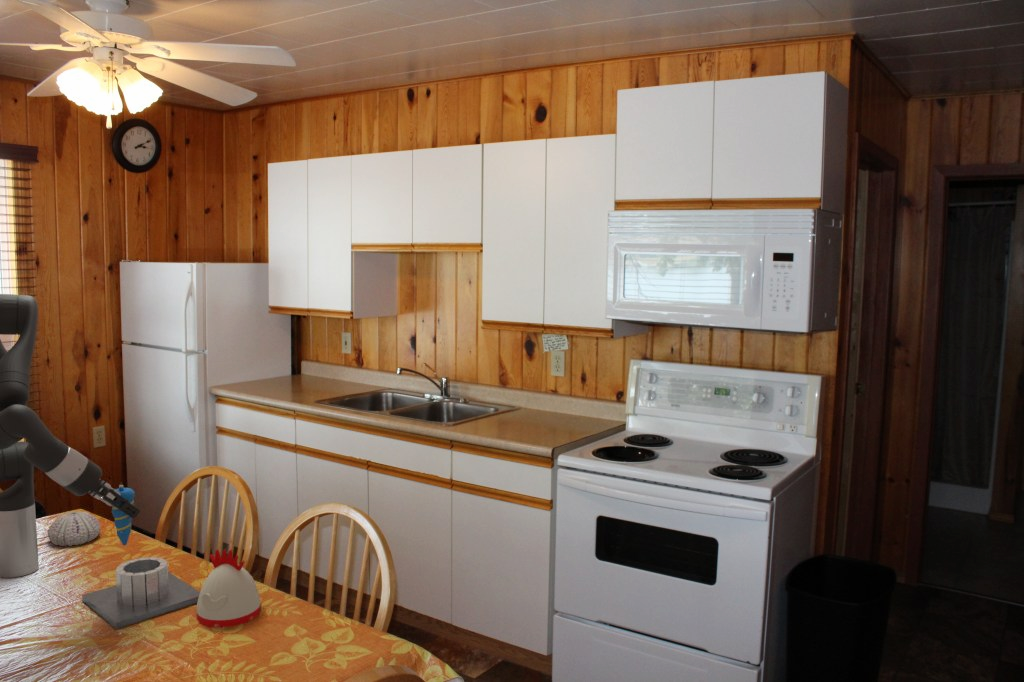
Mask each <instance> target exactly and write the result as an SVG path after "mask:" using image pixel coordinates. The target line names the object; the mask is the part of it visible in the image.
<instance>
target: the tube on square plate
mask: <svg viewBox="0 0 1024 682" xmlns="http://www.w3.org/2000/svg"><path fill="white" fill-rule="evenodd" d="M168 563H169V562H168V560H166V559H164V558H162V557H154V556H149V557H139V558H135V559H131V560H126V561H124V562H122V563H121V564H119V565H117V567H116V568H115V569H116V570H115V585H112V586H109V587H106V588H101V589H98V590H95V591H91V592H88V593H84V594H82V595H81V597H82V598H81V599H82V602H83V603H84V604H86V606H88V607H89V608H91V610H92V611H94V612H95V613H96V614H97V613H98V614H97V615H99V616H100V617H101V618H102V619H103V618H104V619H103V620H105V621H106V622H107V623H108V624H109V625H110V626H112V627H113V628H114V629H116V630H119V629H122V628H124V627H128V626H131V625H134V624H137V623H140V622H143V621H146V619H147V620H149V618H150V619H152V617H153V618H155V616H156V617H158V615H159V616H161V614H162V615H165V614H168V613H171V612H174V611H177V610H180V609H183V608H186V607H189V606H193V605H195V604H196V605H197V602H198V598H199V595H200V591H199V590H198V589H196V588H195V587H193V586H192V585H190V584H188V583H187V582H185V581H183V580H182V579H181V578H179V577H178V576H176V575H174V574H173V573H171V572H170V571H169V570H168V569H169V568H168ZM164 613H165V614H164ZM139 621H140V622H139Z"/></svg>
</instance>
